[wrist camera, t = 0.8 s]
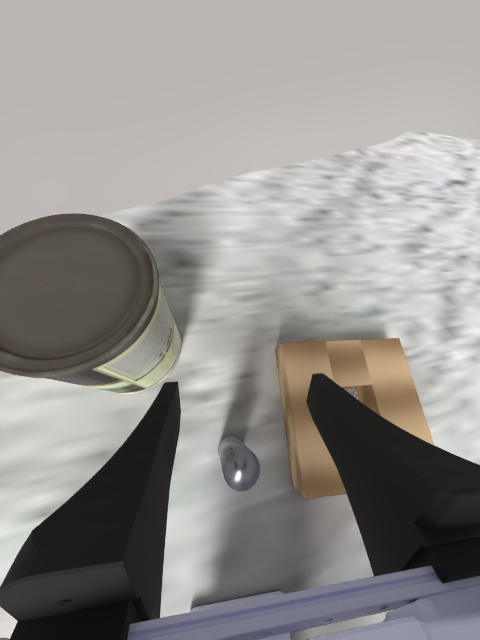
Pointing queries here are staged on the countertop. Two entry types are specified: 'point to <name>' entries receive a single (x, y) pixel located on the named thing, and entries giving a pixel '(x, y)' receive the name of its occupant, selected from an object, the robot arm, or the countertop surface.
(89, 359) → the coffee can
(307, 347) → the tan slotted block
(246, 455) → the pin
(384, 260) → the countertop surface
